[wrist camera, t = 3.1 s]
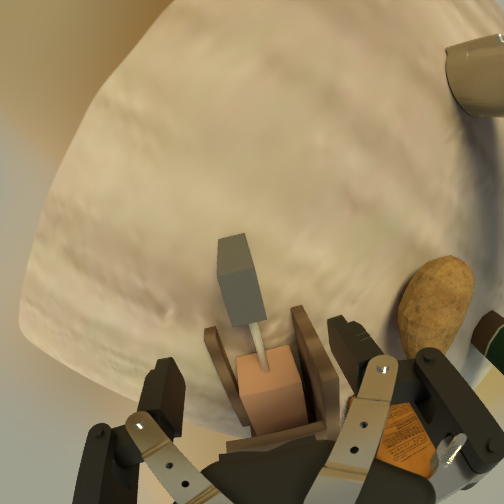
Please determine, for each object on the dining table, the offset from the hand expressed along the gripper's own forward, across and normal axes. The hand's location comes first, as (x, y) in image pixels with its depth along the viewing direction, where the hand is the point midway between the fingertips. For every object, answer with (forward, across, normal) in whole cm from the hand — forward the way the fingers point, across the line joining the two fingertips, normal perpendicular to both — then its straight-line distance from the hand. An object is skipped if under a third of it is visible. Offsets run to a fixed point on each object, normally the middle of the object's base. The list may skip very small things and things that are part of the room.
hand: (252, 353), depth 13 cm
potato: (+14, -20, +11) cm, 27 cm away
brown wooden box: (+14, 0, +15) cm, 20 cm away
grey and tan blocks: (+13, 0, +9) cm, 16 cm away
